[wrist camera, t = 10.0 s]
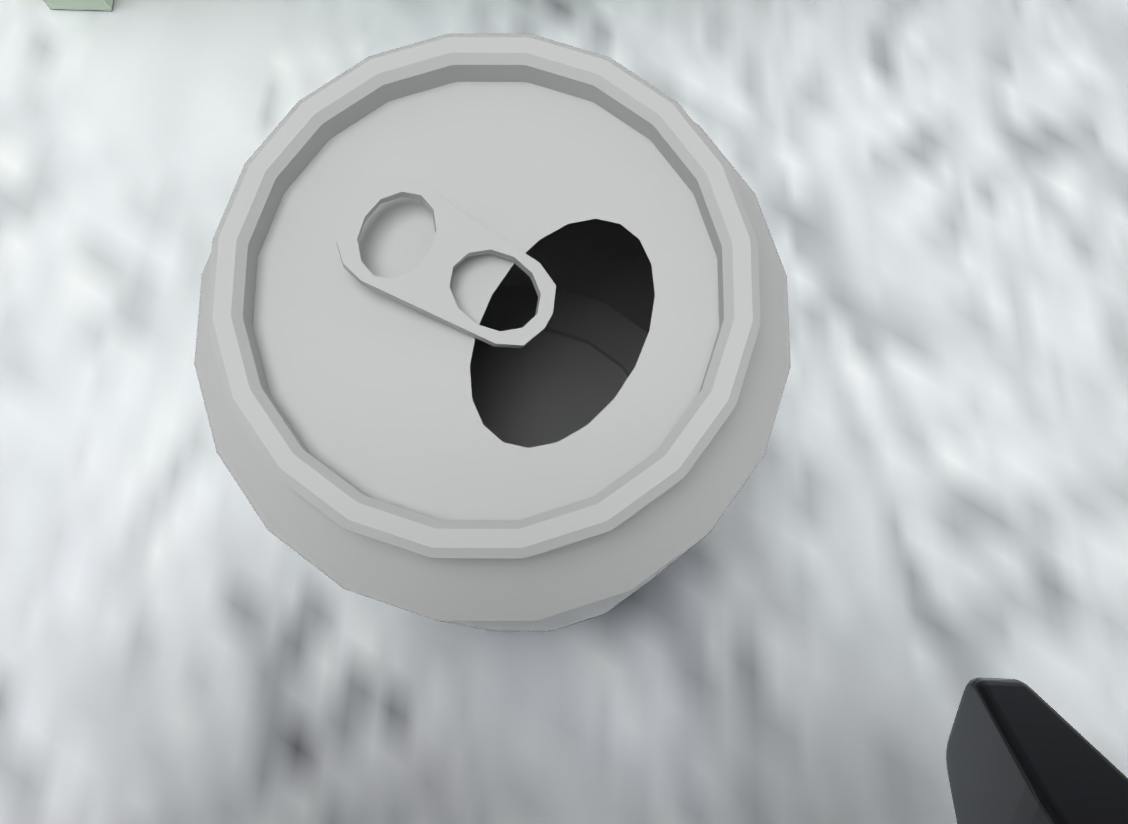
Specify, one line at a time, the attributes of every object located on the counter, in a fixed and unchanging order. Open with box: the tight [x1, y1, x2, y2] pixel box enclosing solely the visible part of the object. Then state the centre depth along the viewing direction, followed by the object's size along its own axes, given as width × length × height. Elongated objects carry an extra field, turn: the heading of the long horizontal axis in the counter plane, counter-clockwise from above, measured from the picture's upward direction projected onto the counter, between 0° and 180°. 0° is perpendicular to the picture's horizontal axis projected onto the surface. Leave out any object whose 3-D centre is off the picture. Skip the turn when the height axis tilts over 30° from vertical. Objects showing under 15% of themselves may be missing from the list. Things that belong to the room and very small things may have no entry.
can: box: [195, 34, 790, 631], centre depth 17 cm, size 8×8×12 cm
